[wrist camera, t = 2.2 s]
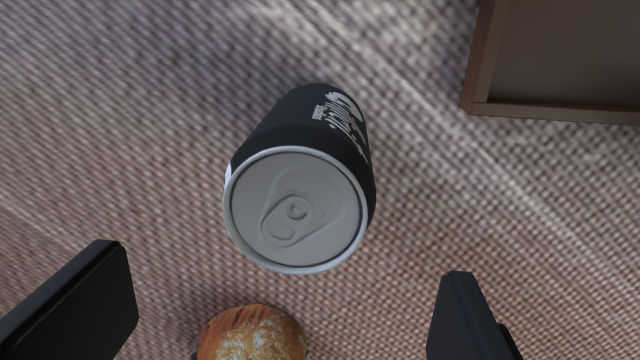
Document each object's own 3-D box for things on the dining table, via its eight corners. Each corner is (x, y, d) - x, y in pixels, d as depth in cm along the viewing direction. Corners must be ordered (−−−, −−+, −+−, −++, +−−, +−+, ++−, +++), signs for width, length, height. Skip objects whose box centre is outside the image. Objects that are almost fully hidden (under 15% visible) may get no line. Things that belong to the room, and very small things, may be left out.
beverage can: (385, 123, 24) (415, 208, 13) (325, 189, 27) (309, 308, 16) (309, 60, 23) (273, 98, 12) (252, 136, 25) (181, 224, 14)
